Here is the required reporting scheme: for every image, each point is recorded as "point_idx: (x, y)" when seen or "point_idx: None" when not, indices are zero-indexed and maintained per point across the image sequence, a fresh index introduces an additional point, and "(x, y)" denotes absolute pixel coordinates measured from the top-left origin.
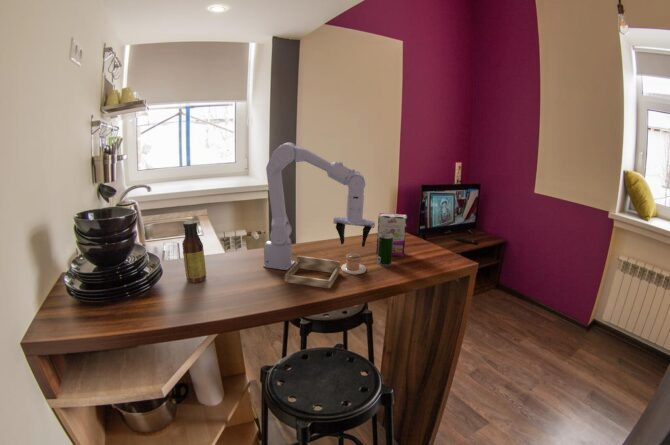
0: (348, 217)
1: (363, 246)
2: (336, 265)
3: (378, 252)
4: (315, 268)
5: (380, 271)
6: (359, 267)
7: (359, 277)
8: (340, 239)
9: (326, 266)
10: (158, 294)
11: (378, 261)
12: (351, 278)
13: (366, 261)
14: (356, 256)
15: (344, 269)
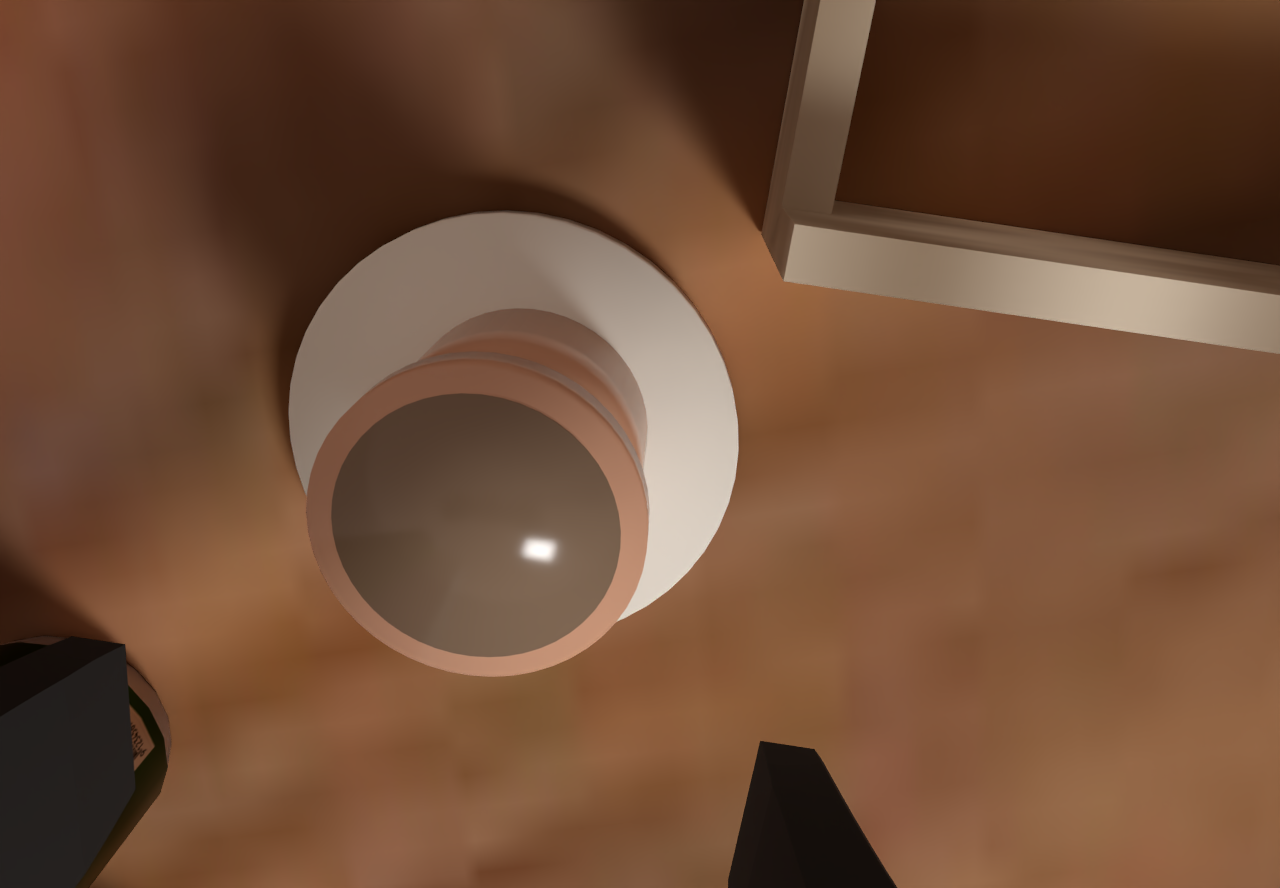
0: None
1: (66, 640)
2: (844, 218)
3: None
4: (1256, 264)
5: (58, 424)
6: None
7: (364, 99)
8: (872, 852)
9: (1056, 244)
10: None
11: None
12: (507, 20)
13: (351, 753)
14: (400, 526)
15: (670, 339)
